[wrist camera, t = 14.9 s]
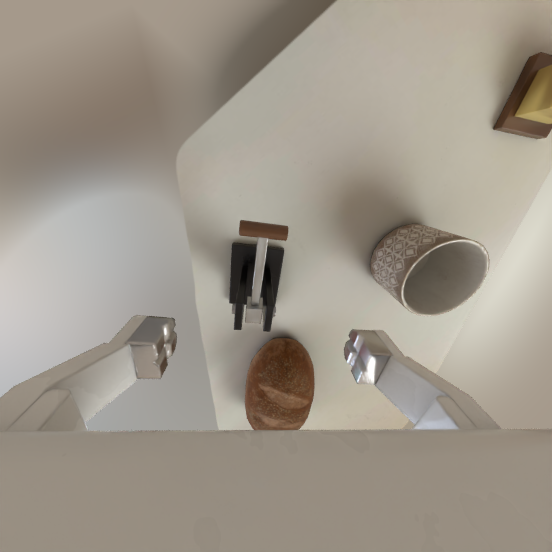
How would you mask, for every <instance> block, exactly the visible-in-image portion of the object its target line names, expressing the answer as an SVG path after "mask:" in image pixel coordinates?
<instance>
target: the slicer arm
mask: <svg viewBox="0 0 552 552" xmlns="http://www.w3.org/2000/svg"><path fill="white" fill-rule="evenodd" d="M239 235H241V236H250V237H258V240H257V249H256V259H255V268H254V278H253V287H252V297H247V306H246V317H245V323H259V324H261V319H262V312H263V298H260V294H261V287H262V280H263V273H264V265H265V258H266V251H267V244H268V239H275V240H284V241H286V240H287V237H288V226H284V225H276V224H268V223H260V222H252V221H244V220H241V221H240V227H239Z"/></svg>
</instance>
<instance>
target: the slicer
mask: <svg viewBox="0 0 552 552" xmlns="http://www.w3.org/2000/svg"><path fill="white" fill-rule="evenodd" d="M256 249H257V245H251V244H242V243H233V244H232V257H231V279H230V301H229V303H231V304H233V306H232V314H235V320H234V330H241V328H242V320H243V312H244V304H245V305H247V297H252V287H253V278H254V268H255V259H256ZM283 256H284V248H278V247H269V246H267V251H266V258H265V265H264V273H263V280H262V287H261V294H260V298H263V331H267V332H270V330H271V324H272V318H273V316H275V314H276V307H275V304H276V298H277V292H278V286H279V280H280V274H281V268H282V262H283Z"/></svg>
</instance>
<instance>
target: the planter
mask: <svg viewBox="0 0 552 552" xmlns="http://www.w3.org/2000/svg"><path fill="white" fill-rule="evenodd" d="M370 267H371V273H372V275H373V277H374V279H375V280H376V281H377V282H378V283H379V284H380V285H381V286H382V287H383V288H384V289H385V290H386V291H388V292H389V293H390V294H391V295H392V296H393V297H394V298H395V299H396V300H398V301H399V302H400V303H401V304H402V305H403V306H404V307H405V308H406V309H408V310H409V311H410V312H412V313H414V314H416V315H420V316H435V315H440V314H443V313H446V312H449V311H451V310H453V309H455V308H457V307H459V306H460V305H462V304H463V303H465V302H466V301H467V300H468V299H469V298H471V297H472V296H473V295H474V294H475V293H476V291H477V290H478V289H479V288H480V286H481V285H482V283H483V282H484V280H485V278H486V276H487V273H488V269H489V255H488V252H487V250H486V249H485V247H484V246H483V245H482V244H480V243H479V242H477V241H474V240H471V239H468V238H465V237H461V236H458V235H455V234H451V233H448V232H445V231H441V230H438V229H435V228H431V227H428V226H424V225H420V224H410V225H405V226H402V227H399V228H397V229H395V230H393V231H392V232H390V233H389V234H387V235H386V236H385V237H384V238H383V239H382V240H381V241H380V242H379V244H378V245H377V247H376V248H375V250H374V252H373V255H372V258H371V264H370Z"/></svg>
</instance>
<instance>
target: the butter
mask: <svg viewBox="0 0 552 552" xmlns="http://www.w3.org/2000/svg"><path fill="white" fill-rule="evenodd" d="M551 129H552V55H549V54H545V53H542V52H540V53H538V54H535V55H533V56H531V57H529V59H528V61H527V63H526V65H525V67H524V69H523V71H522V73H521V75H520V77H519V79H518V81H517V83H516V85H515V87H514V89H513V91H512V93H511V95H510V97H509V99H508V101H507V103H506V105H505V107H504V109H503V111H502V113H501V115H500V117H499V119H498V121H497V123H496V125H495V127H494V130H498V131H503V132H507V133H512V134H517V135H521V136H526V137H530V138H535V139H540V138H546V137H547V136H548V134H549V133H550V131H551Z"/></svg>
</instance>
